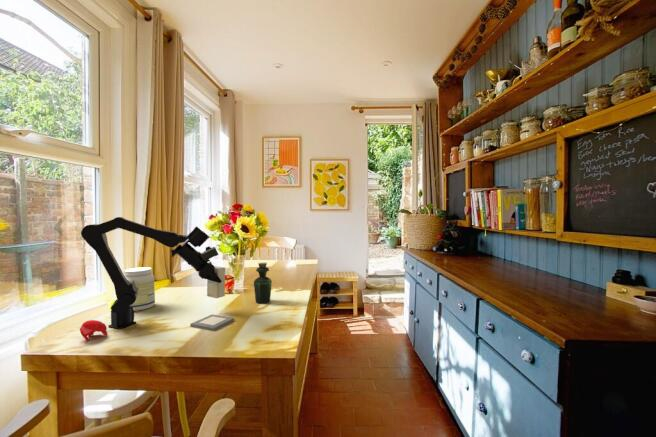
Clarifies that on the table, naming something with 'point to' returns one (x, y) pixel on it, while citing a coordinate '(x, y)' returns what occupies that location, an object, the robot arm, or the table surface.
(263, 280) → the potion bottle
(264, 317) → the table surface
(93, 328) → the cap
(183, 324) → the table surface
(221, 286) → the skincare box
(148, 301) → the supplement tub
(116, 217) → the robot arm
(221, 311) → the table surface
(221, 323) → the slate pad
